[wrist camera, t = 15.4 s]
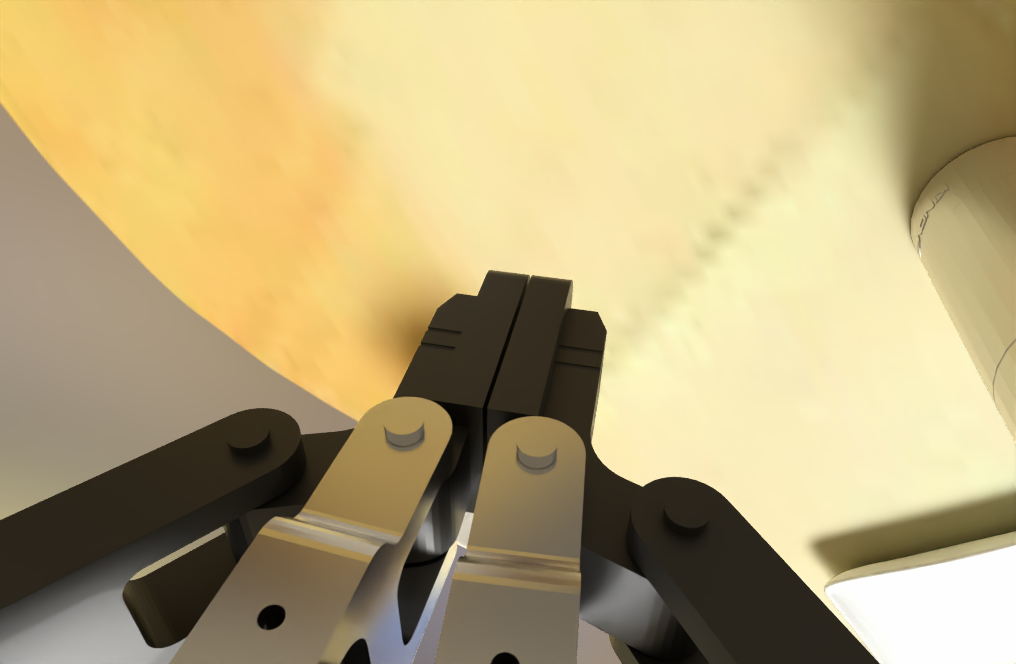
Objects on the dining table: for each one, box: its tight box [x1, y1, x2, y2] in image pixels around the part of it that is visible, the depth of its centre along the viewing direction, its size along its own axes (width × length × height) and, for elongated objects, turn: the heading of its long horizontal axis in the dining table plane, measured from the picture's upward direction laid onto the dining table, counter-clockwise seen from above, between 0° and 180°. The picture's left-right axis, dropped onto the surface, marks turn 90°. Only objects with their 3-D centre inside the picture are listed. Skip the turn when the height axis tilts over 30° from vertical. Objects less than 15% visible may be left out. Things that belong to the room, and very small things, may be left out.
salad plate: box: [824, 531, 1016, 664], centre depth 59 cm, size 21×21×3 cm
